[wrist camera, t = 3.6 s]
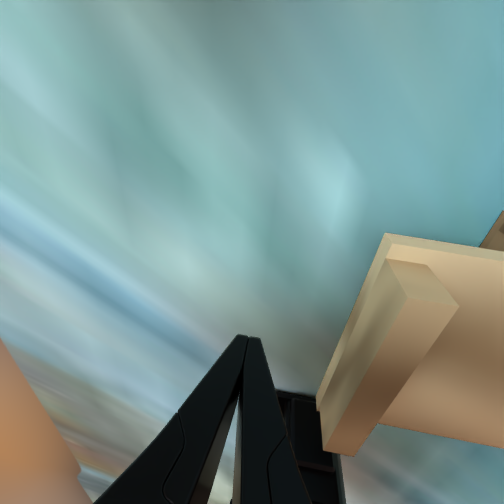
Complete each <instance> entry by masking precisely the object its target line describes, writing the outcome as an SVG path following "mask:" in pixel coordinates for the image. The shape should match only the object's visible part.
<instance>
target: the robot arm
mask: <svg viewBox="0 0 504 504" xmlns="http://www.w3.org/2000/svg"><path fill="white" fill-rule="evenodd" d="M248 338H249V339H248ZM239 392H240V393H239ZM238 397H239V401H238ZM237 401H238V414H237V431H236V447H235V463H234V479H233V496H232V499H231V501H230V504H346V498H345V490H344V482H343V475H342V467H341V459H340V454H338V453H333V452H328V451H323V443H322V430H321V418H320V411H317V407H316V399H313V398H308V397H303V396H298V395H293V394H288V393H283V392H278V391H275V387H274V384H273V380H272V377H271V374H270V370H269V367H268V363H267V360H266V356H265V353H264V349H263V346H262V342H261V339H260V338H257V337H252V336H250V337H248V336H247V335H241V334H238V335H236V337H235V338H234V339H233V340H232V342H231V343H230V344H229V346H228V347H227V348H226V349H225V351H224V352H223V353H222V355H221V356H220V357H219V358H218V360H217V361H216V362H215V364H214V365H213V366H212V367H211V369H210V370H209V371H208V372H207V374H206V375H205V376H204V378H203V379H202V380H201V381H200V383H199V384H198V385H197V387H196V388H195V389H194V390H193V392H192V393H191V394H190V395H189V397H188V398H187V399H186V401H185V402H184V403H183V404H182V406H181V407H180V408H179V410H178V413H175V414H174V416H173V417H172V418H171V420H170V421H169V422H168V423H167V425H166V426H165V427H164V428H163V429H162V431H161V432H160V433H159V434H158V435H157V437H156V438H155V439H154V440H153V441H152V442H151V443H150V445H149V446H148V447H147V448H146V449H145V450H144V451H143V452H142V453H141V454H140V455H139V456H138V458H137V459H136V460H135V461H134V462H133V463H132V464H131V465H130V466H129V467H128V468H127V469H126V470H125V471H124V472H123V473H122V474H121V475H120V476H119V477H118V478H117V479H116V480H115V481H114V482H113V483H112V485H111V486H110V487H109V488H108V489H107V490H106V491H105V492H104V493H103V494H102V495H101V496H100V497H99V498H98V499H97V500H96V501H95V502H94V503H93V504H207V502H208V499H209V496H210V492H211V489H212V486H213V482H214V479H215V476H216V472H217V469H218V466H219V462H220V459H221V455H222V452H223V449H224V445H225V442H226V439H227V435H228V432H229V429H230V425H231V422H232V418H233V415H234V412H235V408H236V405H237Z"/></svg>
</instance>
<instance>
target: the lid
mask: <svg viewBox="0 0 504 504" xmlns="http://www.w3.org/2000/svg"><path fill="white" fill-rule="evenodd" d="M316 407H317V411H320V418H321V430H322V443H323V451H328V452H333V453H338V454H342V455H347V456H352V457H354V456H355V454H356V453H357V451H358V450H359V449H360V447H361V446H362V444H363V443H364V441H365V440H366V439H367V437H368V436H369V434H370V433H371V431H372V430H373V429H374V427H375V426H376V424H377V423H379V424H384V425H389V426H394V427H399V428H404V429H409V430H414V431H418V432H423V433H428V434H433V435H438V436H443V437H448V438H453V439H458V440H463V441H468V442H473V443H478V444H483V445H488V446H493V447H498V448H503V449H504V252H503V251H496V250H490V249H484V248H478V247H471V246H465V245H459V244H453V243H447V242H440V241H434V240H428V239H422V238H415V237H409V236H403V235H397V234H390V233H385V234H384V236H383V238H382V241H381V243H380V246H379V248H378V250H377V253H376V255H375V257H374V260H373V262H372V264H371V267H370V269H369V272H368V274H367V276H366V279H365V281H364V283H363V286H362V288H361V290H360V293H359V295H358V298H357V300H356V302H355V305H354V307H353V309H352V312H351V314H350V316H349V319H348V321H347V324H346V326H345V328H344V331H343V333H342V335H341V338H340V340H339V342H338V345H337V347H336V350H335V352H334V354H333V357H332V359H331V361H330V364H329V366H328V369H327V371H326V373H325V376H324V378H323V380H322V383H321V385H320V387H319V390H318V392H317V395H316Z"/></svg>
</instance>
